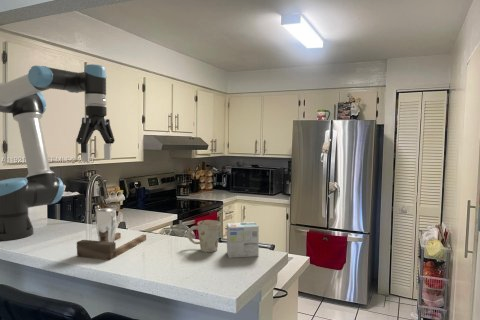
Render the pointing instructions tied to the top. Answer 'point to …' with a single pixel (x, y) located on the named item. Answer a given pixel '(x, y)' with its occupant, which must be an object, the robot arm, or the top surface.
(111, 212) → the metal tumbler
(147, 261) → the top surface
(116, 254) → the brown u-shaped block
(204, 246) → the mug
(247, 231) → the light bulb box
